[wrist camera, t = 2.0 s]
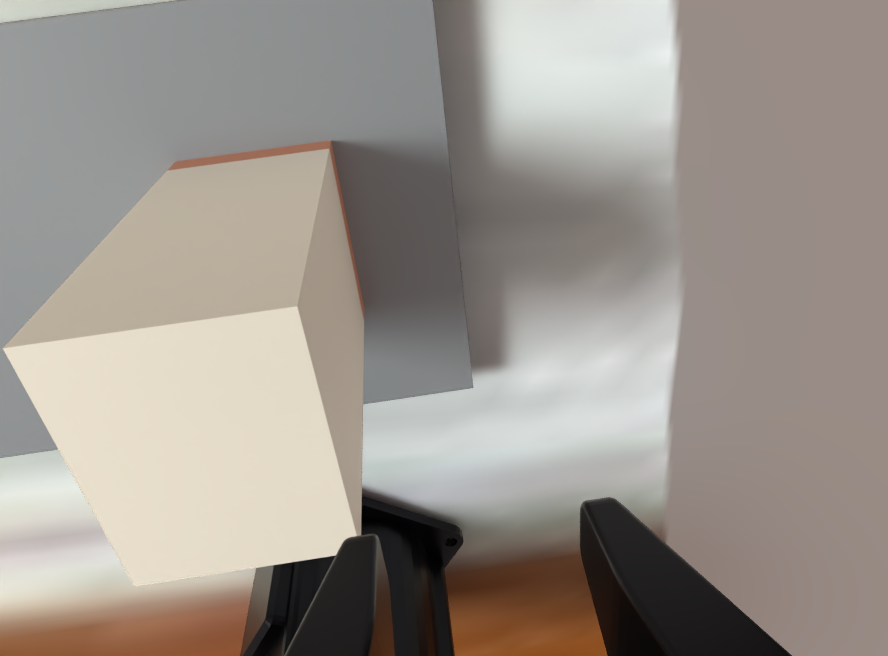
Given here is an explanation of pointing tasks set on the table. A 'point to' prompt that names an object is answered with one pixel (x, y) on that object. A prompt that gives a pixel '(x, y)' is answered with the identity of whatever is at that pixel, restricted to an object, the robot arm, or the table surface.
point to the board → (227, 132)
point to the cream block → (212, 368)
